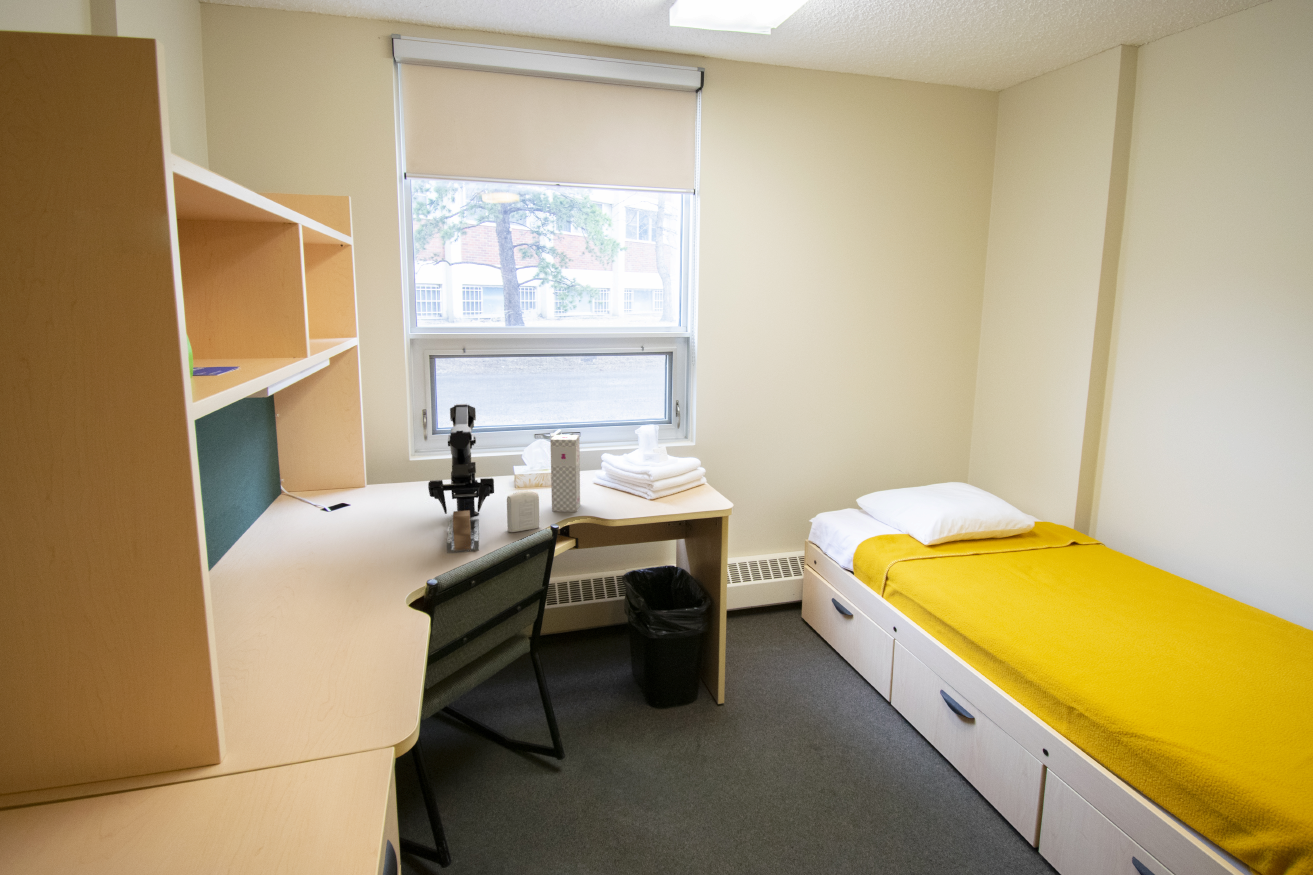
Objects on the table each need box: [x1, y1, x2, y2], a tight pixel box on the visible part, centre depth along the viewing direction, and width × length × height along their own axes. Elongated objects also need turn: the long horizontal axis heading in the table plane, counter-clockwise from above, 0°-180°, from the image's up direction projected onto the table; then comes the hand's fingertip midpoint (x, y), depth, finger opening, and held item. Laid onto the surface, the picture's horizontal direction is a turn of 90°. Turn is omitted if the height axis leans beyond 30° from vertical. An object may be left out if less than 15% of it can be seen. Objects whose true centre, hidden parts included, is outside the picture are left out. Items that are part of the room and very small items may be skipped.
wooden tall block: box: [452, 510, 471, 550], centre depth 196 cm, size 4×5×10 cm
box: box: [550, 434, 581, 513], centre depth 235 cm, size 8×8×25 cm
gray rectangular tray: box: [446, 518, 480, 554], centre depth 204 cm, size 20×9×3 cm, turn 14°
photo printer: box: [506, 490, 540, 533], centre depth 214 cm, size 10×4×12 cm, turn 123°
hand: (462, 512), depth 200 cm, fingers open, 9 cm apart
